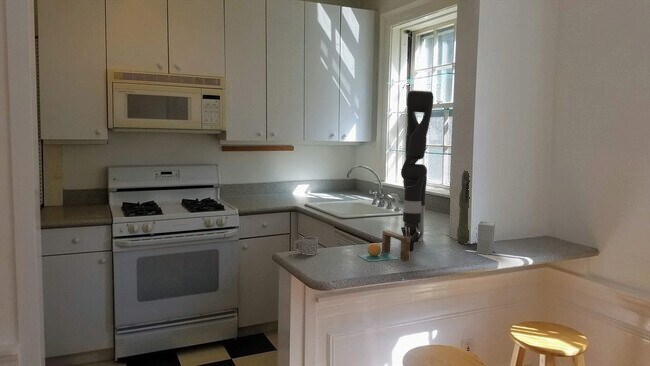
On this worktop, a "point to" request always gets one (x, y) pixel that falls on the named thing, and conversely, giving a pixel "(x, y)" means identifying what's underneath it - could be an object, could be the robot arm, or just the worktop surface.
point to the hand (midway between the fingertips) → (410, 251)
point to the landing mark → (378, 257)
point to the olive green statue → (463, 209)
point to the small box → (485, 237)
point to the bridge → (404, 244)
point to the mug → (307, 245)
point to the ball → (374, 249)
